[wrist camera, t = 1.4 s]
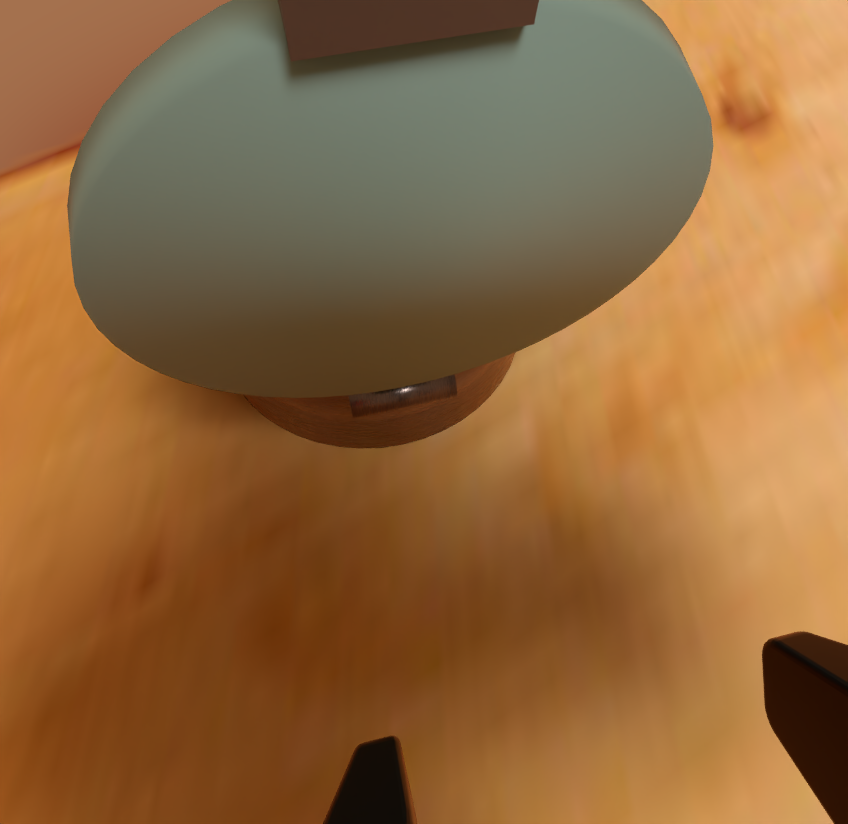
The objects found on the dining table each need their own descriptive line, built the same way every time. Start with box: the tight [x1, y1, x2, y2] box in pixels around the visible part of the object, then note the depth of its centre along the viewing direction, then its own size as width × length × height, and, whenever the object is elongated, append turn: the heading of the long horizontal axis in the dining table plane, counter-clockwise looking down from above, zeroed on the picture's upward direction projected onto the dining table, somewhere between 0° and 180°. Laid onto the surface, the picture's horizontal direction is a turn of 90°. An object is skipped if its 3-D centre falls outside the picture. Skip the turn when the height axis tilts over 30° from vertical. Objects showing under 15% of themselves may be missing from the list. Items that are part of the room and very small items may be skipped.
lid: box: [67, 0, 713, 398], centre depth 12 cm, size 15×12×1 cm
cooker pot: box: [243, 353, 515, 448], centre depth 25 cm, size 12×15×5 cm
